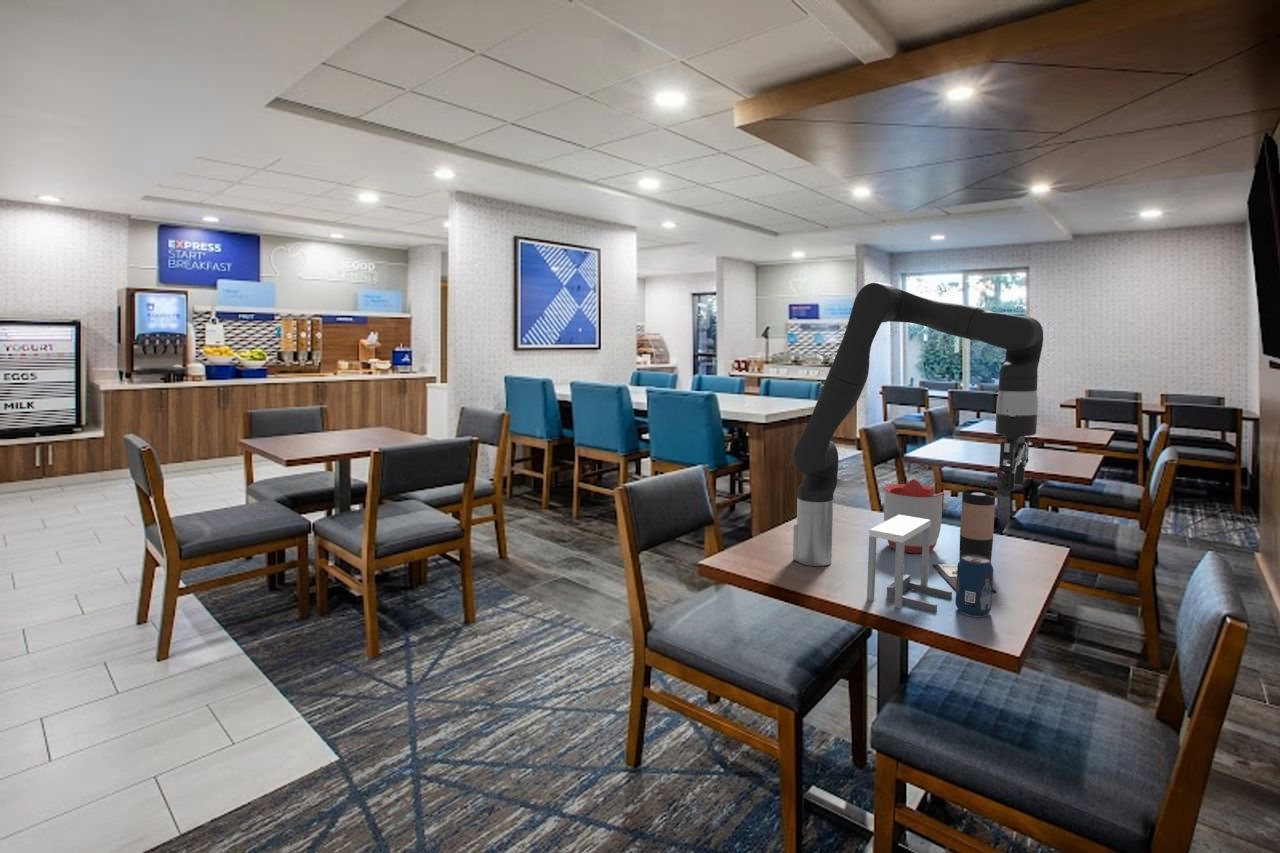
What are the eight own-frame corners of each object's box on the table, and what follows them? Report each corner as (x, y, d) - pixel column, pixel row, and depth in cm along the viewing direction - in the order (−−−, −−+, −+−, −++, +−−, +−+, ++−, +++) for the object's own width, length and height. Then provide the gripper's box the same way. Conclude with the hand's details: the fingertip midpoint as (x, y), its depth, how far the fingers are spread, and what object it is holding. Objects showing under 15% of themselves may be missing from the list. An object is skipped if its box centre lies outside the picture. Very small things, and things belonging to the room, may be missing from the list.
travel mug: (954, 562, 175) (958, 488, 173) (986, 564, 174) (990, 489, 171) (962, 572, 168) (966, 495, 166) (995, 574, 167) (1000, 496, 164)
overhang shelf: (866, 599, 151) (869, 529, 149) (896, 579, 163) (898, 514, 161) (930, 616, 141) (933, 541, 139) (956, 593, 154) (959, 524, 152)
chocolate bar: (955, 589, 155) (932, 564, 173) (955, 593, 155) (932, 567, 173) (996, 590, 154) (968, 565, 172) (996, 594, 154) (968, 568, 172)
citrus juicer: (958, 556, 181) (961, 484, 178) (895, 557, 180) (898, 485, 178) (930, 539, 196) (933, 473, 194) (873, 540, 196) (875, 474, 193)
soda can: (959, 602, 149) (962, 551, 147) (993, 610, 144) (997, 557, 143) (951, 612, 143) (954, 559, 142) (986, 621, 139) (990, 566, 137)
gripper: (1005, 408, 147) (1002, 480, 149) (987, 414, 137) (984, 490, 139) (1044, 410, 142) (1040, 484, 144) (1029, 416, 132) (1025, 495, 134)
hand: (1013, 487), depth 141 cm, fingers open, 8 cm apart
